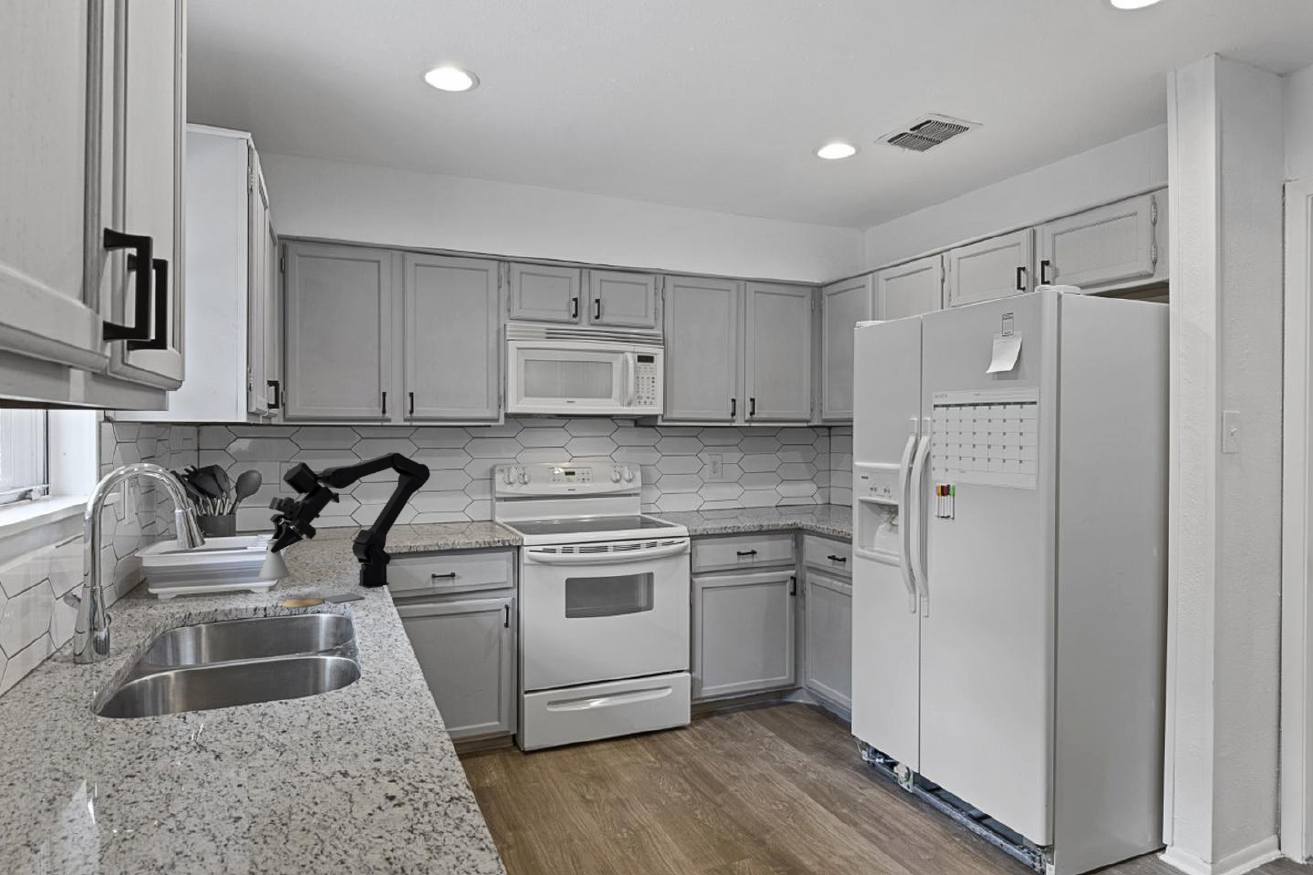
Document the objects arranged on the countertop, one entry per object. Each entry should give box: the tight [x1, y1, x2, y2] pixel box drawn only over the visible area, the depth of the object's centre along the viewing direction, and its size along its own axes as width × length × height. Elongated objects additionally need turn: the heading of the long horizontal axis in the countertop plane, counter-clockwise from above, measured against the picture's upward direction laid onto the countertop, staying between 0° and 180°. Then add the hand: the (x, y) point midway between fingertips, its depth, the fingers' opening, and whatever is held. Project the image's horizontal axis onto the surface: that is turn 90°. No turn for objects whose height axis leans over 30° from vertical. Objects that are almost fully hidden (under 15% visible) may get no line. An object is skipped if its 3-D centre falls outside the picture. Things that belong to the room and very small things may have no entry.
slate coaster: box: [322, 592, 366, 605], centre depth 207 cm, size 8×8×1 cm
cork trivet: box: [280, 596, 325, 608], centre depth 202 cm, size 10×10×1 cm
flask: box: [257, 538, 291, 581], centre depth 205 cm, size 7×7×10 cm
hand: (269, 551), depth 204 cm, fingers closed on flask, 3 cm apart
